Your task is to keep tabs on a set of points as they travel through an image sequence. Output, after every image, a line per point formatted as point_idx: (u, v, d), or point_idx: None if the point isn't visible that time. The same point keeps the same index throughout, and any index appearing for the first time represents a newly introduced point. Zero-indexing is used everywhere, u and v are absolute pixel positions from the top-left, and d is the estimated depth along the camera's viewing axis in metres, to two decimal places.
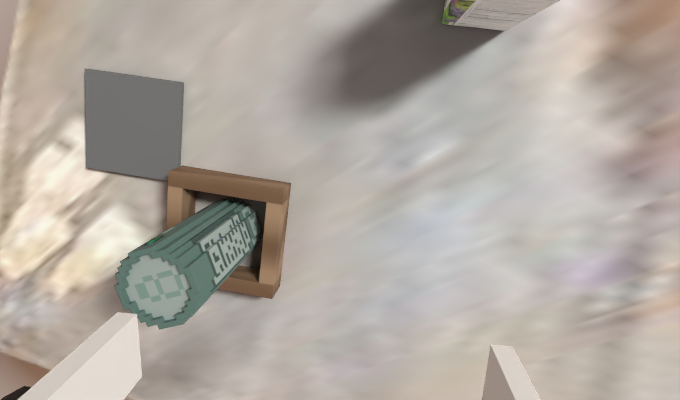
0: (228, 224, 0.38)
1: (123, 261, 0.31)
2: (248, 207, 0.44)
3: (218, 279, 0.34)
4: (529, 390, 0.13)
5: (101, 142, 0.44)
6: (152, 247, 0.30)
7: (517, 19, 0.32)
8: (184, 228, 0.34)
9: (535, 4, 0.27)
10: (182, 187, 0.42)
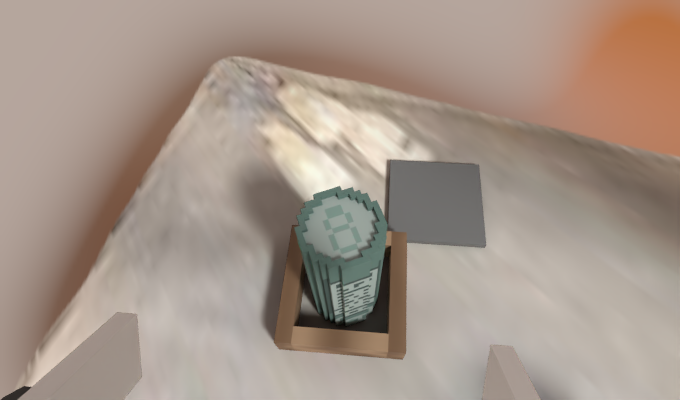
0: (371, 293, 0.36)
1: (367, 195, 0.31)
2: (370, 311, 0.41)
3: (333, 287, 0.31)
4: (529, 390, 0.13)
5: (415, 173, 0.48)
6: (386, 224, 0.29)
7: None
8: None
9: None
10: (391, 245, 0.42)
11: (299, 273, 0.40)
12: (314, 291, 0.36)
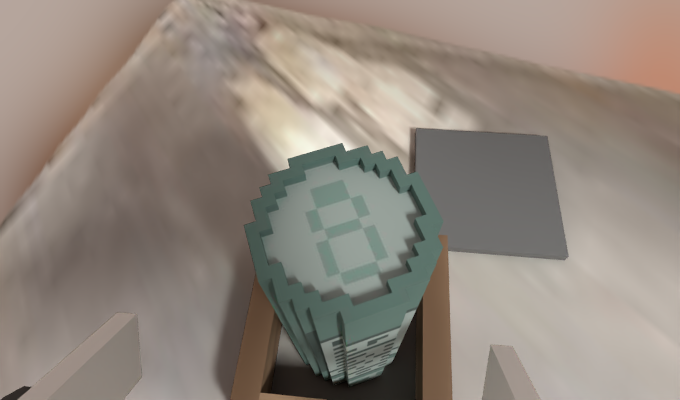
0: (396, 343, 0.20)
1: (397, 162, 0.15)
2: (389, 363, 0.25)
3: (326, 345, 0.16)
4: (529, 390, 0.13)
5: (454, 148, 0.33)
6: (440, 220, 0.14)
7: None
8: None
9: None
10: None
11: None
12: (294, 339, 0.20)
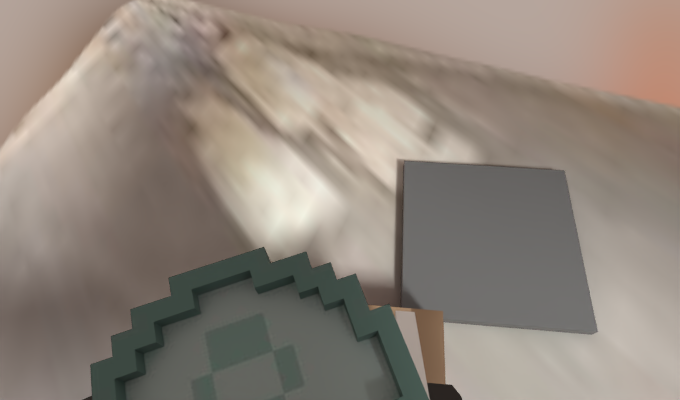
0: None
1: (356, 285, 0.09)
2: None
3: None
4: (414, 345, 0.15)
5: (451, 186, 0.27)
6: None
7: None
8: None
9: None
10: None
11: None
12: None
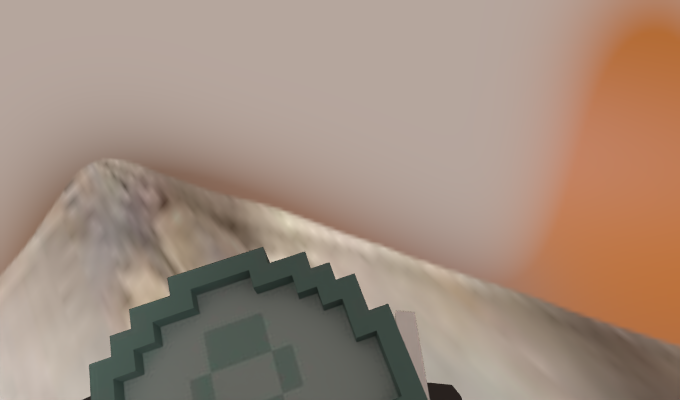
0: None
1: (355, 285, 0.09)
2: None
3: None
4: (414, 345, 0.15)
5: None
6: None
7: None
8: None
9: None
10: None
11: None
12: None
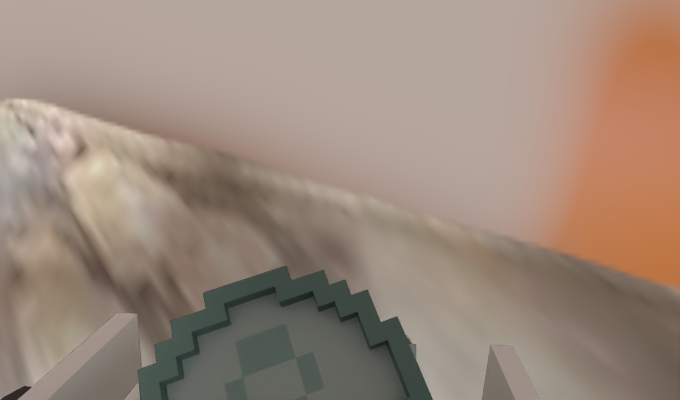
0: None
1: (368, 299, 0.10)
2: None
3: None
4: (529, 390, 0.13)
5: None
6: None
7: None
8: None
9: None
10: None
11: None
12: None
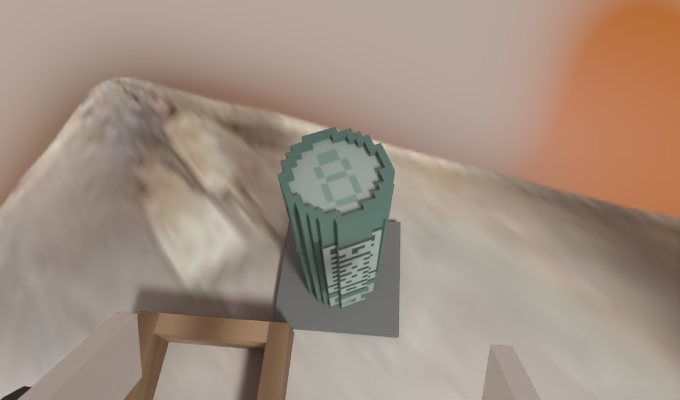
0: (373, 266, 0.30)
1: (369, 138, 0.25)
2: (371, 291, 0.35)
3: (326, 252, 0.25)
4: (529, 390, 0.13)
5: None
6: (393, 170, 0.23)
7: None
8: None
9: None
10: (267, 342, 0.31)
11: (137, 383, 0.30)
12: (304, 262, 0.30)
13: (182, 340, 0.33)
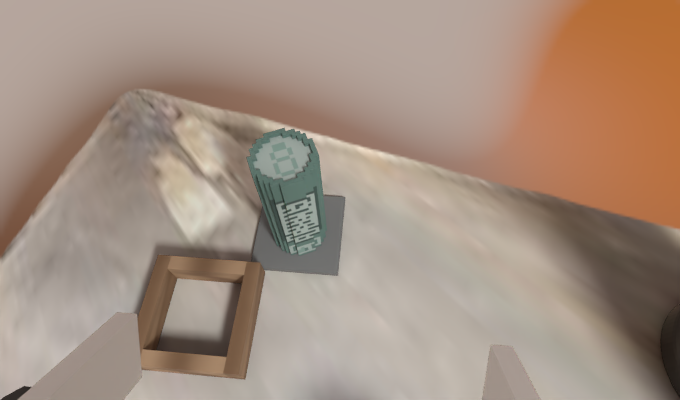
0: (315, 221, 0.45)
1: (304, 135, 0.39)
2: (319, 243, 0.49)
3: (278, 207, 0.40)
4: (529, 390, 0.13)
5: None
6: (318, 155, 0.38)
7: None
8: (320, 183, 0.42)
9: None
10: (244, 274, 0.46)
11: (156, 300, 0.45)
12: (268, 218, 0.44)
13: (186, 276, 0.48)
